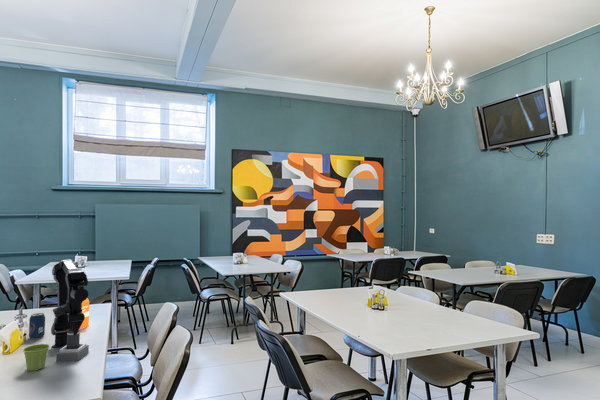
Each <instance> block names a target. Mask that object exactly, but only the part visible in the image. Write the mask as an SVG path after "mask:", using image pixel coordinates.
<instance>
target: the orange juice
mask: <svg viewBox="0 0 600 400" xmlns="http://www.w3.org/2000/svg"><path fill="white" fill-rule="evenodd" d="M82 313H83V314H84V315H85V320H84V321H83V323H82V325H81V327H80V329H79V331H81V330H82V329H84V327H85V328H87V327H88V326H89V325H90V324H89V323H90V321H89V320H90V300H89V297H88V298H87V299H86V300H85V301H83V303H82ZM86 326H87V327H86Z"/></svg>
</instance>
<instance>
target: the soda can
mask: <svg viewBox="0 0 600 400" xmlns="http://www.w3.org/2000/svg"><path fill="white" fill-rule="evenodd" d="M28 320H29V325H28V337H29V339H31V340H39V339H43V337H44V336H45V334H46V332H45V331H46V316H45V313H43V312H38V313H33V314H31V315H30V317H29V319H28Z"/></svg>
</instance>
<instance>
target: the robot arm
mask: <svg viewBox="0 0 600 400" xmlns="http://www.w3.org/2000/svg"><path fill="white" fill-rule="evenodd" d="M51 275H52V276H53V280H54V282H56V284H57V286H56V287H57V307H55V308H52V312H53V315H54V319H53V323H52V325H51V329H50V331H51V333H50V334H51V335H52V336H54V344H52V345H51V348H63V347H64V346H66V345H67V332H68V331H72V330H73V334H74V335H77V333H78V331H80V330H81V329H80V327H81V325H82V323H83V321H84V320H85V315H84V314H83V313H82V303H83V301H85V300H86V299H87V298H88V299H89V291H88V290H87V289H85V287H87V286H88V283H89V281H88V276H87V274H86V272H85V271H84V270H83V269H81V268H77V266H76V265H75V264H74V263H73V259H62V260H60V261H59V262H58V263H56V264H55V265H53V267H52V269H51ZM79 329H80V330H79Z"/></svg>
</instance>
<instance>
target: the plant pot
mask: <svg viewBox="0 0 600 400" xmlns="http://www.w3.org/2000/svg"><path fill="white" fill-rule="evenodd" d="M49 348H50V345H49V344H47V343H45V344H44V343H40V344H39V343H37V344H33V345H29V346H26V347H24V348H23V349H22V352H23V354H24V356H25V357H24V358H25V364H26V371H29V372H30V371H31V372H34V371H38V370H40V369H44V368H45V366H46V365H45V364H46V358H47V353H48V351H49Z"/></svg>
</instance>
